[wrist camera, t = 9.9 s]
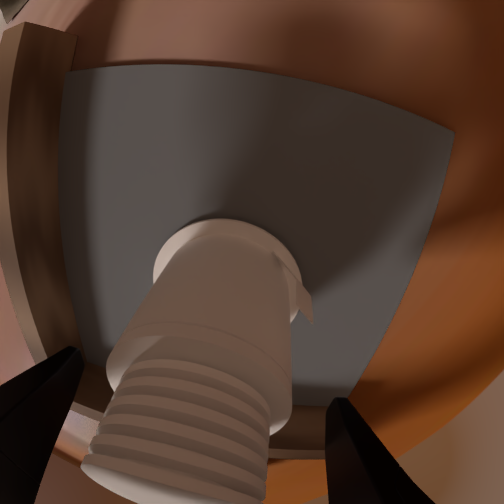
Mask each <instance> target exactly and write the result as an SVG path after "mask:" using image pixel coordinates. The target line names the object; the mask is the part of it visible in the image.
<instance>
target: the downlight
mask: <svg viewBox="0 0 504 504" xmlns="http://www.w3.org/2000/svg"><path fill="white" fill-rule="evenodd" d="M153 283H154V284H153V286H152V288H151V289H150V291H149V292H148V294H147V295H146V297H145V298H144V300H143V301H142V303H141V305H140V306H139V308H138V309H137V311H136V312H135V314H134V316H133V317H132V319H131V320H130V322H129V324H128V325H127V327H126V329H125V330H124V332H123V333H122V335H121V337H120V338H119V340H118V342H117V343H116V345H115V347H114V348H113V350H112V352H111V353H110V355H109V357H108V359H107V363H106V373H107V378H108V381H109V383H110V385H111V387H112V389H113V391H114V394H113V396H112V398H111V402H110V403H109V404H108V406H107V408H106V411H105V413H104V416H103V419H102V420H101V421H100V423H99V426H98V428H97V430H96V436H94V437H93V439H92V441H91V443H90V446H89V448H88V451H89V453H90V454H88V455H86V456H85V457H84V459H83V462H82V464H81V469H82V470H83V471H84V472H85V473H86V474H87V475H88V476H89V477H90V478H92V479H93V480H94V481H96V482H97V483H99V484H100V485H102V486H104V487H105V488H107V489H109V490H111V491H112V492H114V493H116V494H119V495H120V496H123V497H125V498H127V499H129V500H132V501H134V502H136V503H139V504H263V503H262V502H261V501H263V500H264V499H265V494H266V484H265V483H264V482H265V481H266V479H267V462H268V452H269V447H268V445H269V437H270V435H272V434H274V433H276V432H277V431H278V430H280V429H281V428H282V427H283V426H284V425H285V424H286V423H287V421H288V420H289V418H290V415H291V413H292V366H291V328H290V323H291V322H292V321H293V319H294V318H295V316H296V315H297V312H298V310H299V309H300V311H301V312H302V313H303V314H304V315H305V316H306V318H307V319H308V320H309V321H310V322H311V324H313V311H312V299H311V295H310V294H309V293H308V291H307V290H306V289H305V288H304V286H303V285H302V279H301V274H300V271H299V268H298V266H297V263H296V261H295V260H294V258H293V256H292V255H291V253H290V252H289V250H288V249H287V248H286V247H285V246H284V245H283V244H282V243H281V242H280V241H279V240H278V239H277V238H275V237H274V236H273V235H271V234H270V233H268V232H267V231H265V230H263V229H261V228H259V227H257V226H255V225H252V224H250V223H246V222H243V221H238V220H233V219H208V220H203V221H199V222H196V223H192V224H190V225H188V226H186V227H184V228H182V229H180V230H179V231H177V232H176V233H175V234H174V235H172V236H171V237H170V238H169V239H168V240H167V242H166V243H165V244H164V245H163V247H162V248H161V250H160V252H159V254H158V256H157V258H156V261H155V265H154V270H153Z"/></svg>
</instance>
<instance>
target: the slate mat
mask: <svg viewBox="0 0 504 504" xmlns="http://www.w3.org/2000/svg"><path fill="white" fill-rule="evenodd" d="M454 136H455V132H453V131H451V130H449V129H447V128H445V127H443V126H441V125H438V124H436V123H434V122H432V121H430V120H427V119H425V118H423V117H420V116H418V115H416V114H413V113H411V112H408V111H406V110H403V109H400V108H398V107H395V106H392V105H390V104H387V103H384V102H381V101H378V100H375V99H372V98H369V97H366V96H363V95H360V94H357V93H353V92H350V91H347V90H343V89H339V88H336V87H332V86H328V85H324V84H320V83H316V82H312V81H307V80H303V79H298V78H293V77H288V76H283V75H277V74H271V73H265V72H258V71H251V70H244V69H235V68H226V67H214V66H200V65H173V64H152V65H126V66H112V67H101V68H92V69H84V70H76V71H70V72H66V74H65V80H64V87H63V94H62V103H61V112H60V124H59V140H58V199H59V215H60V227H61V237H62V246H63V254H64V261H65V268H66V274H67V280H68V285H69V291H70V296H71V301H72V305H73V310H74V314H75V319H76V323H77V327H78V331H79V335H80V338H81V342H82V346H83V349H84V353H85V356H86V359H87V362H89V363H92V364H95V365H98V366H101V367H104V368H106V363H107V359H108V357H109V355H110V353H111V352H112V350H113V348H114V347H115V345H116V343H117V342H118V340H119V338H120V337H121V335H122V333H123V332H124V330H125V329H126V327H127V325H128V324H129V322H130V320H131V319H132V317H133V316H134V314H135V312H136V311H137V309H138V308H139V306H140V305H141V303H142V301H143V300H144V298H145V297H146V295H147V294H148V292H149V291H150V289H151V288H152V286H153V284H154V283H153V270H154V265H155V261H156V258H157V256H158V254H159V252H160V250H161V248H162V247H163V245H164V244H165V243H166V242H167V240H168V239H169V238H170V237H171V236H172V235H174V234H175V233H176V232H177V231H179V230H180V229H182V228H184V227H186V226H188V225H190V224H192V223H196V222H199V221H203V220H208V219H233V220H238V221H243V222H246V223H250V224H252V225H255V226H257V227H259V228H261V229H263V230H265V231H267V232H268V233H270V234H271V235H273V236H274V237H275V238H277V239H278V240H279V241H280V242H281V243H282V244H283V245H284V246H285V247H286V248H287V249H288V250H289V252H290V253H291V255H292V256H293V258H294V260H295V261H296V263H297V266H298V268H299V271H300V274H301V279H302V285H303V286H304V288H305V289H306V290H307V291H308V293H309V294H310V295H311V299H312V311H313V324H311V322H310V321H309V320H308V319H307V318H306V316H305V315H304V314H303V313H302V312H301V311H300V309H299V310H298V312H297V315H296V316H295V318H294V319H293V321H292V322H291V323H290V328H291V366H292V405H305V406H329V405H330V403H331V402H332V400H333V399H334V398H335V397H346V398H348V396H349V395H350V393H351V391H352V390H353V388H354V387H355V385H356V383H357V382H358V380H359V379H360V377H361V375H362V374H363V372H364V370H365V369H366V367H367V365H368V363H369V362H370V360H371V358H372V356H373V355H374V353H375V351H376V349H377V347H378V346H379V344H380V342H381V340H382V338H383V336H384V334H385V332H386V330H387V328H388V326H389V324H390V322H391V320H392V318H393V316H394V314H395V312H396V310H397V308H398V306H399V304H400V302H401V299H402V297H403V295H404V293H405V291H406V288H407V286H408V284H409V281H410V279H411V277H412V274H413V272H414V269H415V267H416V264H417V262H418V259H419V257H420V254H421V252H422V249H423V246H424V244H425V241H426V238H427V235H428V232H429V229H430V226H431V223H432V220H433V217H434V214H435V211H436V208H437V205H438V201H439V198H440V194H441V191H442V187H443V183H444V180H445V176H446V172H447V168H448V164H449V159H450V155H451V150H452V146H453V141H454Z"/></svg>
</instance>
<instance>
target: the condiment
mask: <svg viewBox="0 0 504 504" xmlns="http://www.w3.org/2000/svg"><path fill="white" fill-rule="evenodd" d="M27 1H28V0H0V9H1V11H2V13H3V16H4V19H5V21H6V23H7V24H8V23H9V21H10V20H11V19H12V18H13V16H14V15H15V14H16V13H17V12H18V11H19V10H20V9H21V7H22V6H23V5H24V4H25V3H26V2H27Z"/></svg>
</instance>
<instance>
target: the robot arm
mask: <svg viewBox="0 0 504 504" xmlns="http://www.w3.org/2000/svg"><path fill="white" fill-rule="evenodd" d="M84 367H85V363H84V360H83V357H82V354H81V350H80V349H79V348H77V347H74V346H67V347H66V348H64V349H62V350H61V351H59V352H57V353H55V354H54V355H52V356H50V357H48V358H47V359H45V360H43V361H42V362H40V363H38V364H36V365H35V366H33V367H31V368H29V369H28V370H26V371H24V372H23V373H21V374H19V375H18V376H16V377H14V378H12V379H11V380H9V381H7V382H6V383H4V384H2V385H1V386H0V504H34V502H35V499H36V496H37V493H38V490H39V487H40V483H41V480H42V477H43V475H44V471H45V469H46V466H47V463H48V461H49V458H50V455H51V453H52V450H53V448H54V445H55V443H56V440H57V438H58V435H59V433H60V431H61V428H62V426H63V424H64V421H65V419H66V417H67V414H68V412H69V410H70V408H71V405H72V403H73V400H74V398H75V395H76V392H77V389H78V386H79V383H80V380H81V377H82V374H83V371H84ZM325 461H326V472H327V485H328V498H329V504H435V503H434V502H433V501H432V500H431V499H430V498H429V497H428V496H427V495H426V494H425V493H424V492H423V491H422V490H421V489H420V488H419V487H418V486H417V485H416V484H415V483H414V482H413V481H412V480H411V479H410V477H409V476H408V475H407V474H406V472H405V471H404V470H403V469H402V467H399V464H398V462H397V461H396V460H395V459H394V457H393V456H392V455H391V454H390V452H389V451H388V450H387V449H386V447H385V446H384V445H383V443H382V442H381V441H380V440H379V438H378V437H377V436H376V434H375V433H374V432H373V431H372V429H371V428H370V427H369V426H368V424H367V423H366V422H365V420H364V419H363V418H362V417H361V415H360V414H359V413H358V411H357V410H356V409H355V407H354V406H353V405H352V404H351V402H350V401H349V400H348V399H347V398H346V397H335V398H334V399H333V400H332V402H331V403H330V405H329V407H328V408H327V410H326V416H325Z"/></svg>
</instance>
